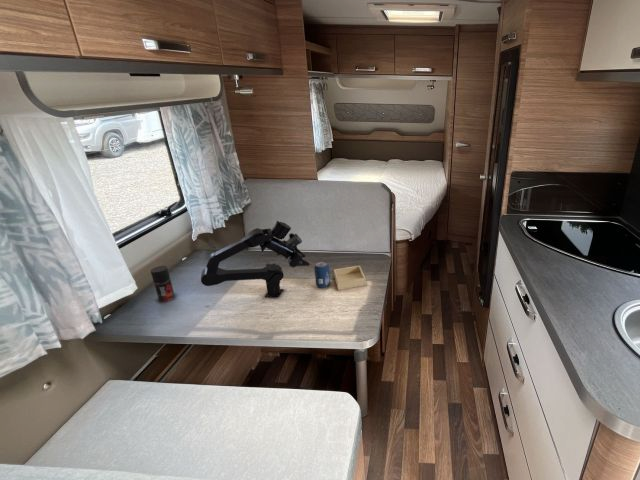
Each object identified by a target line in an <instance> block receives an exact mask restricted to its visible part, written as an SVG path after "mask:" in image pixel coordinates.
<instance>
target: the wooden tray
mask: <svg viewBox="0 0 640 480" xmlns="http://www.w3.org/2000/svg"><path fill="white" fill-rule="evenodd" d="M333 277H334V280H335V284H336V287H337V290H338V291H341V290H345V289H346V290H347V289H352V288H357V287H363V286H366V285H367V281H366V276H365V274H364V271H363V269H362V267H361V265H353V266H348V267H347V266H346V267H341V268H335V269H333Z"/></svg>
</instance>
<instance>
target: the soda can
mask: <svg viewBox="0 0 640 480" xmlns="http://www.w3.org/2000/svg"><path fill="white" fill-rule="evenodd" d="M314 278H315V279H314V280H315V285H316V287H317V288H318V289H322V290H323V289H327V288H329V286H330V285H331V272H330V265H329V263H328V262H327V261H325V260H321V261H318V262H316V263H315V265H314Z"/></svg>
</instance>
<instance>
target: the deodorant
mask: <svg viewBox="0 0 640 480" xmlns="http://www.w3.org/2000/svg"><path fill="white" fill-rule="evenodd" d="M150 274H151V277H152V282H153V284H154V287H155V292H156V295H157V298H158V301H159V302H161V303H166V302H169V301H172V300H173V299H174V298H175V297H176V295H175V292H174V287H173V283H172V280H171V277H170V276H171V275H170V273H169V269H168V266H167V265H159V266H155V267H154V268H152V269H150Z"/></svg>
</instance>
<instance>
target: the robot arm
mask: <svg viewBox="0 0 640 480" xmlns="http://www.w3.org/2000/svg"><path fill="white" fill-rule="evenodd" d="M291 230H292V227H291V226H290V225H289V224H287V223H286V222H283V221H279V220H276V221H275V223H274V225H273V227H272V228H259V227H257V228H253V229H252V230H250V231H249V232H248V233H246V235H244V236H243V237H242V238H241V239H239V240H237V241H235V242H232V243H230V244H229V245H226V246H225V247H223V248H220V249H218V250H217V251H214V252H212V253H210V255H209V258H208V261H207V263H206V266H205V268H203V269H202V271H201V275H200V282H201V284H202V285H203V286H205V287H212V286H216V285H220V284H222V283H225V282H235V281H236V282H237V281H250V280H252V281H253V280H255V281H256V280H263V281H265V286H266V294H264V298H274V299H275V298H277V299H279V298H280V296H281V295H282V293H283V292H284V289H283V288H281V281H282V279H283V278H284V271H283V269H282V266H280V264H276V263H275V262H274V263H266V264H265V266H263V267H262V268H246V269H245V268H243V269H224V268H221V267H219V266H220V263H221V262H223V261H225V260H227V259H229V258H231V257H233V256H235V255H237V254H239V253H241V252H243V251H245V250H246V249H250V248H251V249H252V248H255V247H259V248H260V250H261V252H264V251H265V250H266V249H267V250H270V251H272V252H274V253H276V255H277V256H282V257H283V258H284V259H286V260H287V263H288V265H289V267H290V268H292V269H294V268H295V267H308V266H310V265H311V264H310V262H309V261H307V260H305V259H304V258H306V254H305V253H304V252H302V251H301V250H300V249H299V248H298V246H299V245H300V244H302V243H303V240H302V238H301V237H300V236H299V235H298V234H297V233H293V232H290V231H291ZM289 232H290V233H289ZM287 235H288V239H287V240H284V239H285V238H286V237H287Z"/></svg>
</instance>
